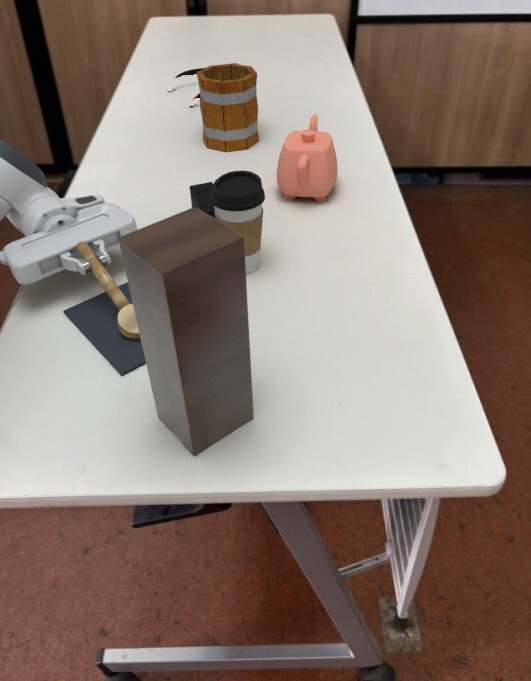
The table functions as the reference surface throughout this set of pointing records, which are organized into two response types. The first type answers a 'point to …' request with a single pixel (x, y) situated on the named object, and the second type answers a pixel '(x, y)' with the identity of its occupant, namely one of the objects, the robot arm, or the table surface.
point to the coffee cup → (241, 210)
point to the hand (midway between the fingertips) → (96, 265)
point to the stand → (193, 323)
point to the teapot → (307, 164)
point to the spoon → (112, 293)
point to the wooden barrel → (229, 106)
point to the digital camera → (202, 197)
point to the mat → (108, 331)
